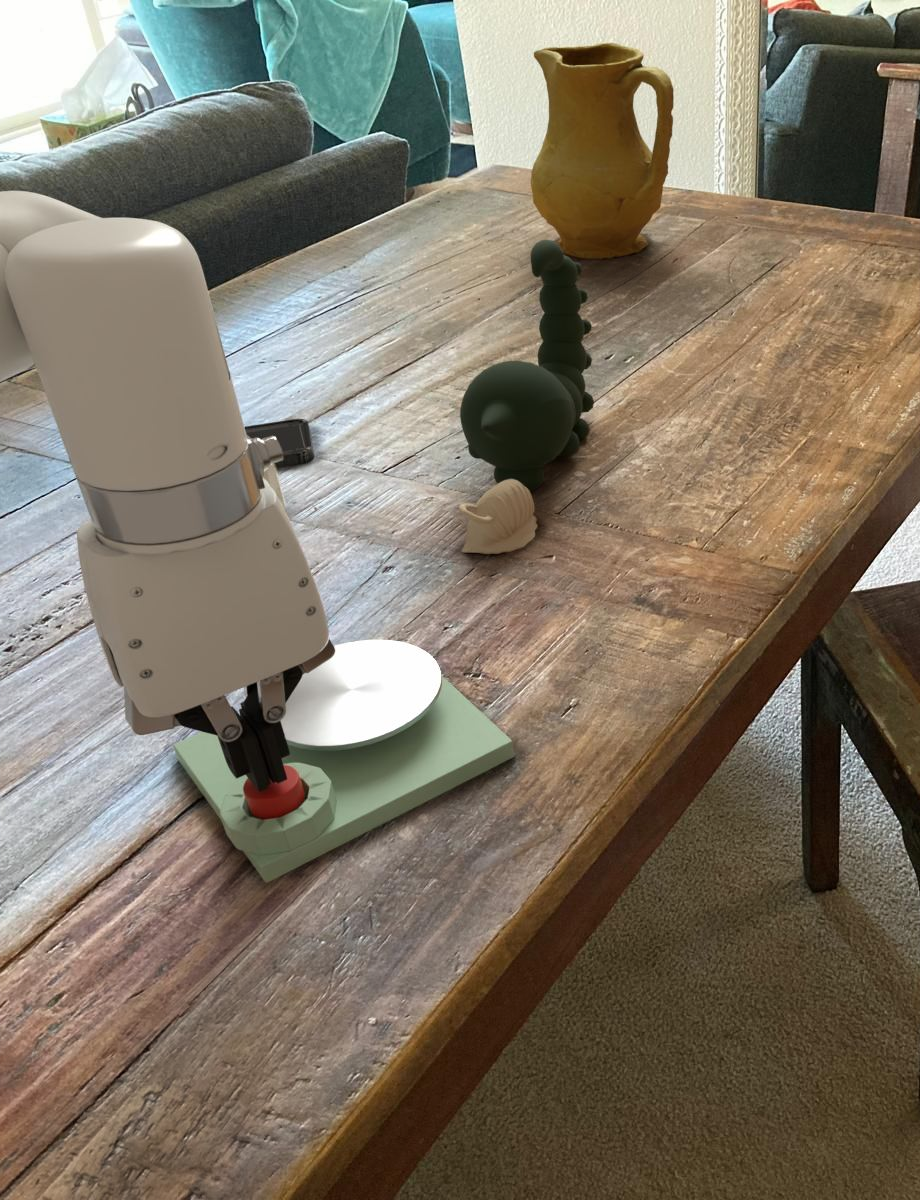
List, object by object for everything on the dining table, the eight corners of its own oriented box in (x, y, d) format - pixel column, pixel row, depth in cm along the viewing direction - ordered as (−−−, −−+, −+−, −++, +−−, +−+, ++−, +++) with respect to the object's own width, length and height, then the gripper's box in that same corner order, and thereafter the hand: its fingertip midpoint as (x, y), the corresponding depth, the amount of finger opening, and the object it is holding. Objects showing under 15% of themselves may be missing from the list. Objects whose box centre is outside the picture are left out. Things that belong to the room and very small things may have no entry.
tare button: (262, 827, 67) (255, 807, 66) (241, 800, 69) (234, 780, 68) (313, 803, 69) (307, 782, 68) (292, 776, 71) (286, 756, 70)
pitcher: (616, 215, 174) (601, 28, 159) (696, 252, 163) (689, 55, 148) (513, 243, 164) (487, 47, 149) (591, 284, 154) (572, 78, 138)
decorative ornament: (553, 527, 100) (546, 470, 97) (484, 574, 94) (474, 514, 91) (515, 515, 102) (507, 459, 99) (446, 560, 96) (435, 501, 93)
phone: (312, 451, 109) (130, 479, 104) (315, 462, 110) (134, 491, 105) (307, 416, 115) (135, 442, 110) (309, 427, 116) (139, 453, 111)
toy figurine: (531, 417, 122) (441, 519, 100) (512, 226, 113) (408, 292, 91) (622, 422, 121) (551, 525, 99) (610, 229, 112) (529, 297, 90)
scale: (258, 889, 67) (244, 850, 65) (171, 764, 75) (157, 727, 74) (515, 757, 76) (509, 721, 74) (411, 660, 85) (404, 625, 83)
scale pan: (306, 776, 70) (304, 771, 70) (234, 690, 77) (233, 685, 77) (473, 698, 76) (472, 693, 76) (394, 624, 83) (392, 620, 83)
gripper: (293, 419, 64) (358, 689, 74) (-22, 509, 56) (101, 799, 66) (356, 469, 59) (416, 749, 70) (23, 576, 51) (147, 876, 61)
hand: (263, 773), depth 68 cm, fingers closed
